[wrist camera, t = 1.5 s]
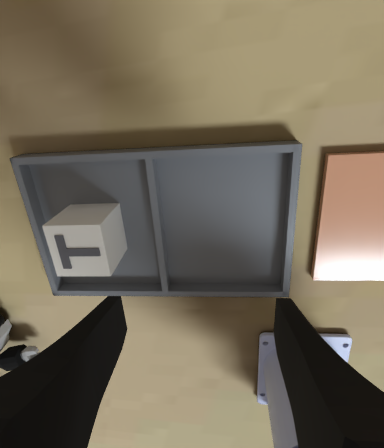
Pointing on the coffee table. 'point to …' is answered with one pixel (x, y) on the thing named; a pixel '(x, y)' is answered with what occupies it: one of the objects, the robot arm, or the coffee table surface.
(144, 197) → the sorting tray
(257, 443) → the coffee table surface
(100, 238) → the letter cube
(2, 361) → the robot toy
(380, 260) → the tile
